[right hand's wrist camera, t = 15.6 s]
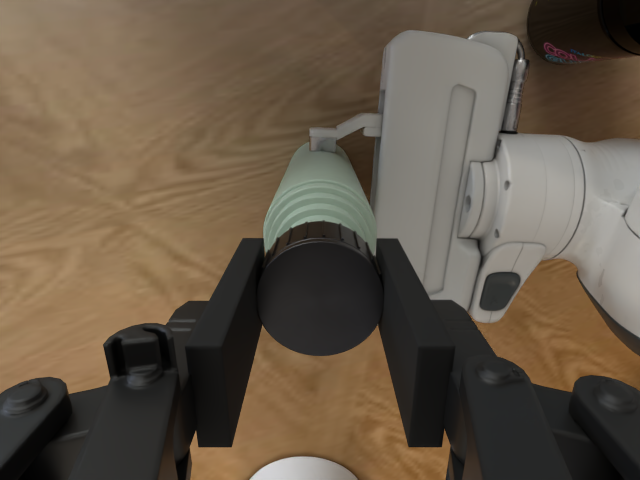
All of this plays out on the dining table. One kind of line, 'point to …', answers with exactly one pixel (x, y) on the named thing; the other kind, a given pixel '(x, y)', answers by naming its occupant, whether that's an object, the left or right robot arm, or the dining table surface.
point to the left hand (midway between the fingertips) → (307, 188)
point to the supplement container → (584, 30)
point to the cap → (320, 289)
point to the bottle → (320, 196)
